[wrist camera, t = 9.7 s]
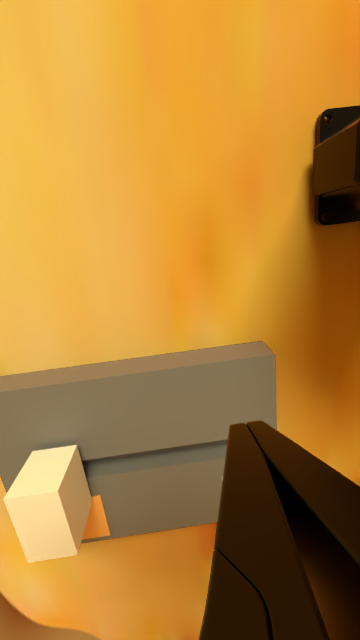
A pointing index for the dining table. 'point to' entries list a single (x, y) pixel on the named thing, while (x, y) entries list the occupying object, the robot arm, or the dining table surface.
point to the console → (141, 430)
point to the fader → (50, 504)
